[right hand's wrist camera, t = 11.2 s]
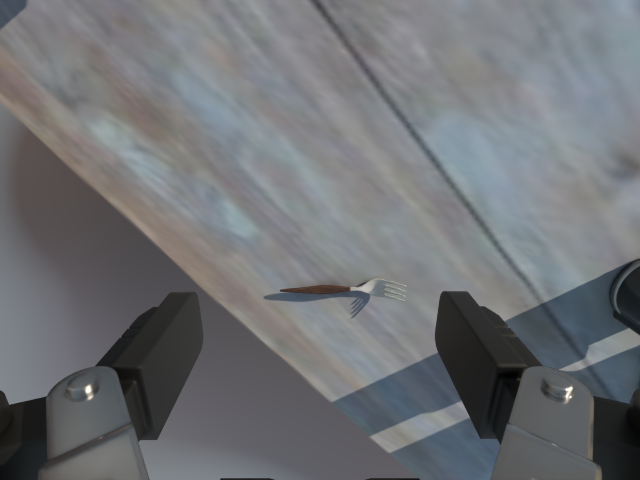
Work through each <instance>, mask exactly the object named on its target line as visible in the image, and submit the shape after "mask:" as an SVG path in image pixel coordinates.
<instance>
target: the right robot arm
mask: <svg viewBox="0 0 640 480" xmlns="http://www.w3.org/2000/svg"><path fill="white" fill-rule="evenodd" d="M610 301H611V305H612V307H613V308H614V310H615V313H614V318H616V319H617V320H619V321H620V322H621V323H623V324H624V325H626V326H627V327H629V328H630V329H631V330H633V331H634V332H636V333H637V334H638V335H640V259H639V260H637V261H635V262H633V263H632V264H630V265H629V266H627V267H626V268H625V269H624V270H623V271H622V272H621V273H620V274H619V275H618V277H617V278H616V279H615V281H614V283H613V285H612V288H611V292H610ZM435 342H436V347H437V350H438V353H439V355H440V357H441V359H442V361H443V363H444V365H445V367H446V369H447V371H448V373H449V375H450V377H451V379H452V381H453V383H454V385H455V388H456V390H457V392H458V394H459V396H460V398H461V400H462V402H463V404H464V406H465V408H466V410H467V412H468V414H469V416H470V418H471V420H472V422H473V424H474V427H475V429H476V431H477V433H478V435H479V437H480V439H498V441H499V443H500V445H501V446H500V449H499V452H498V456H497V459H496V463H495V466H494V469H493V473H492V476H491V479H490V480H640V389H638V390H636V391H635V392H634V394H633V396H632V399H631V401H630V404H627V403H622V402H618V401H613V400H609V399H604V398H600V397H595V396H593V395H592V393H591V392H590V390H589V389H588V388H587V387H586V386H585V385H584V384H583V383H582V382H580V381H579V380H578V379H576V378H574V377H573V376H571V375H569V374H567V373H565V372H563V371H560V370H557V369H554V368H550V367H544V366H542V365H541V363H540V362H539V361H538V360H537V359H536V358H535V356H534V355H533V354H532V353H531V352H530V351H529V350H528V348H527V347H526V346H525V345H524V344H523V343H522V342H521V340H520V339H519V338H518V337H516V335H515V333H514V332H513V331H512V330H511V329H510V328H508V325H507V324H506V323H505V322H504V321H503V320H502V318H501V317H500V316H499V315H497V314H496V313H494V312H493V311H491V310H489V309H488V308H486V307H485V306H479V305H478V304H477V303H476V301H475V300H474V299H473V298H472V296H471V295H470V294H469V293H468V292H466V291H443V292H442V293H441V296H440V300H439V308H438V315H437V322H436V329H435ZM202 344H203V328H202V321H201V314H200V307H199V300H198V296H197V294H196V293H195V292H171V293H170V294H169V295H168V296H167V297H166V298H165V299H164V301H163V302H162V303H161V304H160V306H159V307H153V308H151V309H149V310H148V311H146V312H145V313H143V314H142V315H140V316H139V317H138V318H137V319H136V320H135V321H134V322H133V323H132V325H131V326H130V328H129V329H127V330H126V331H125V333H124V334H123V335H122V338H119V339H118V341H117V342H116V343H115V344H114V345H113V346H112V347H111V349H110V350H109V351H108V352H107V353H106V354H105V355H104V357H103V358H102V359H101V360H100V361H99V362H98V363H97V365H96V366H95V367H90V368H86V369H83V370H80V371H77V372H75V373H73V374H71V375H69V376H67V377H66V378H64V379H63V380H61V381H60V382H58V383H57V384H56V385H55V386H54V387H53V388H52V389H51V390H50V392H49V393H48V395H47V396H46V397H43V398H38V399H34V400H30V401H25V402H20V403H16V404H11V405H9V403H8V401H7V399H6V396H5V394H4V393H3V392H2V391H0V480H150V479H149V476H148V473H147V469H146V466H145V463H144V459H143V456H142V453H141V449H140V446H139V441H140V440H157V439H158V437H159V435H160V433H161V431H162V429H163V427H164V425H165V423H166V421H167V419H168V417H169V415H170V413H171V410H172V408H173V406H174V404H175V402H176V400H177V398H178V396H179V394H180V392H181V390H182V388H183V386H184V384H185V382H186V380H187V378H188V376H189V374H190V372H191V370H192V368H193V366H194V364H195V362H196V360H197V358H198V356H199V354H200V351H201V349H202ZM220 480H273V479H270V478H221V479H220ZM367 480H420V479H419V478H370V479H367Z"/></svg>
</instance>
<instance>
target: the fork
mask: <svg viewBox="0 0 640 480" xmlns="http://www.w3.org/2000/svg"><path fill="white" fill-rule="evenodd" d="M385 283H390V284H396V285H401V286H405V285H402V284H399V283H395V282H392V281H388V280H384V279H379V278H376V279H372V280H370V281H368V282H367V283H365V284H364V285H362V286H360V287H343V286H332V285H320V286H311V287H302V288H291V289H282V290H280V291H281V292H294V293H311V294H330V293H339V292H346V291H362V292H365V293H367V294H370V295H373V296H379V297H387V298H392V299H396V300H401V301H404V302H405V300H402V299H399V298H396V297H392V296H389V295H386V294H384V293H391V294H396V295H401V296H405V295H402V294H399V293H395V292H392V291H389V290H386V289H384V288H391V289H396V290H401V291H405V290H402V289H399V288H395V287H392V286H388V285H386V284H385ZM405 287H406V286H405ZM405 292H406V291H405Z"/></svg>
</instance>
